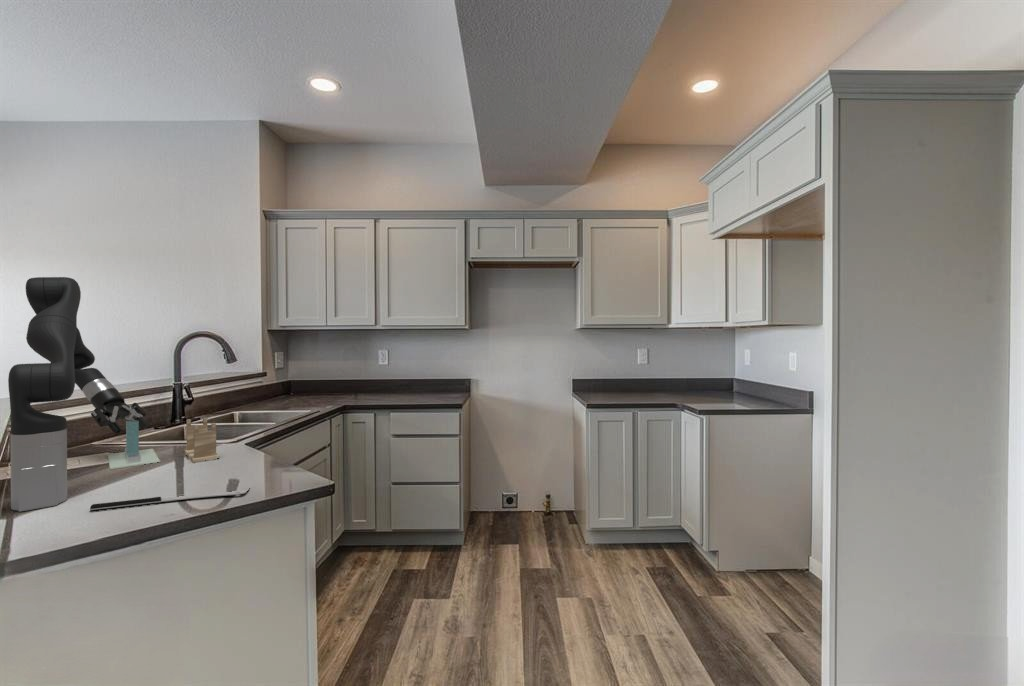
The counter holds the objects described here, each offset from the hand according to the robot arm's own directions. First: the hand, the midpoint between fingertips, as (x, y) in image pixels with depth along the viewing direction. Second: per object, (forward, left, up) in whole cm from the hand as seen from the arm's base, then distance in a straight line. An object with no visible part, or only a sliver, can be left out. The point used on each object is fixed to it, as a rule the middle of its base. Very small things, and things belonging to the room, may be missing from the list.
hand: (133, 430), depth 149 cm
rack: (-11, -17, -9) cm, 22 cm away
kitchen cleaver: (-58, -5, -10) cm, 59 cm away
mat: (0, 0, -9) cm, 9 cm away
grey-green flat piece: (0, 0, -9) cm, 9 cm away
